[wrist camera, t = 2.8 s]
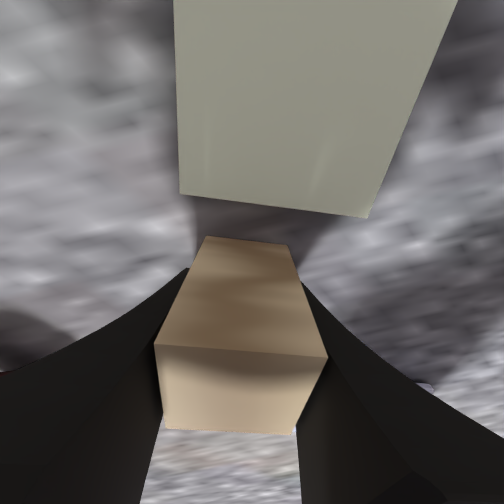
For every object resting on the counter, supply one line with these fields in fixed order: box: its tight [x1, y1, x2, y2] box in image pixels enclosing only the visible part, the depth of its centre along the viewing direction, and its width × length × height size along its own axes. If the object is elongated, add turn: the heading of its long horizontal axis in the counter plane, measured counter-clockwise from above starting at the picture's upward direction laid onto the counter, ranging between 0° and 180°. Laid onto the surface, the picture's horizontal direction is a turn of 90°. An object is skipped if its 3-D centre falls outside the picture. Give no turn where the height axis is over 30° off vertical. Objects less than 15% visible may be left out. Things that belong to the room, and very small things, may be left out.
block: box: [154, 236, 328, 435], centre depth 8 cm, size 4×4×6 cm
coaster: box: [173, 0, 458, 218], centre depth 7 cm, size 8×8×1 cm
